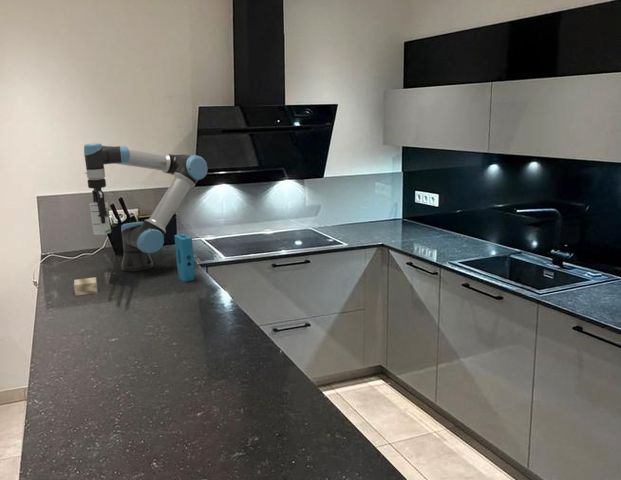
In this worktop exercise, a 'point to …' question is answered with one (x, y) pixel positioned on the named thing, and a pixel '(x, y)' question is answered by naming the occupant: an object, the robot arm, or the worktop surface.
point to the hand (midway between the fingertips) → (102, 228)
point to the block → (184, 257)
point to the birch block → (85, 286)
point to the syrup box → (96, 219)
